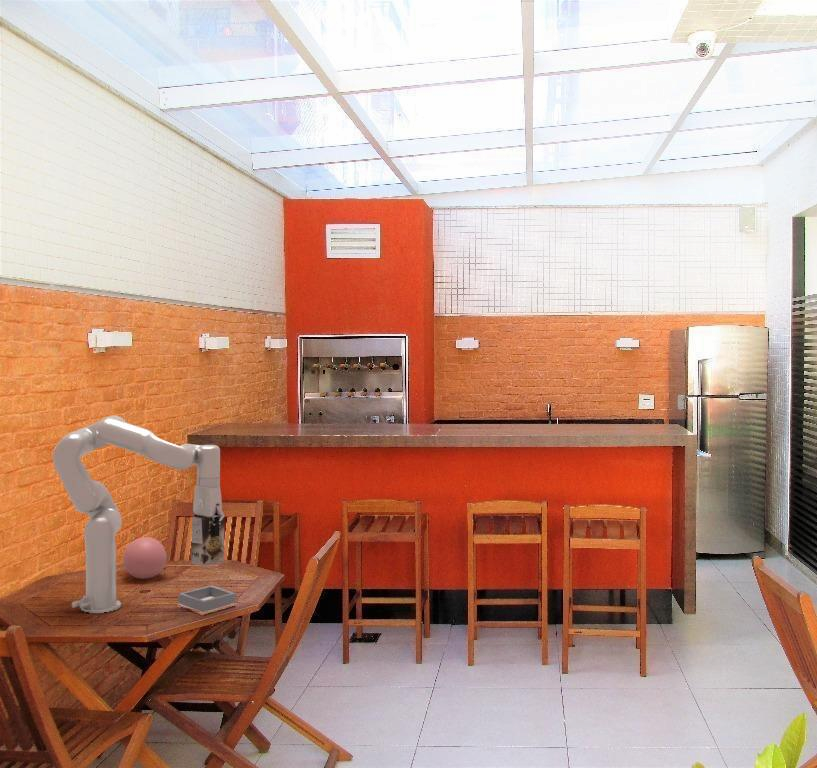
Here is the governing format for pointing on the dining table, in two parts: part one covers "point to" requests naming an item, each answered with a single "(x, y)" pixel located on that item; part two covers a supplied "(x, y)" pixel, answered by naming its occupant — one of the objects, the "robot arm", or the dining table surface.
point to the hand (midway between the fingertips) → (208, 534)
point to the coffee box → (206, 542)
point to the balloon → (144, 558)
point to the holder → (206, 598)
